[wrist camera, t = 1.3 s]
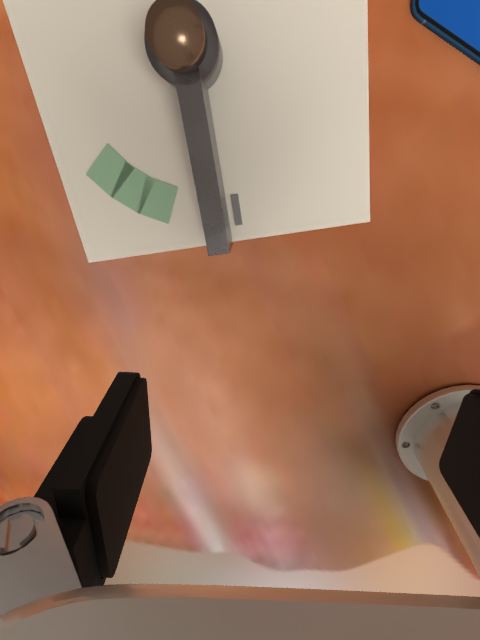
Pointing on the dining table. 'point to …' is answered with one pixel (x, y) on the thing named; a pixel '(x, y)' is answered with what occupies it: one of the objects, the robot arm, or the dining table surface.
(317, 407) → the dining table surface
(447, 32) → the smartphone
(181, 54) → the grey lever handle
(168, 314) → the dining table surface
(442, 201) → the dining table surface
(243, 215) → the dial plate
